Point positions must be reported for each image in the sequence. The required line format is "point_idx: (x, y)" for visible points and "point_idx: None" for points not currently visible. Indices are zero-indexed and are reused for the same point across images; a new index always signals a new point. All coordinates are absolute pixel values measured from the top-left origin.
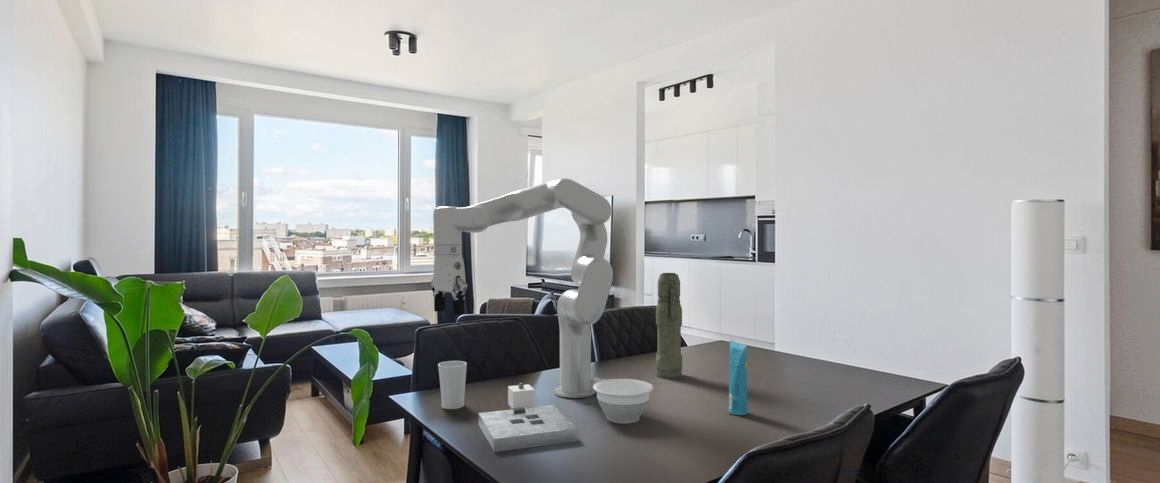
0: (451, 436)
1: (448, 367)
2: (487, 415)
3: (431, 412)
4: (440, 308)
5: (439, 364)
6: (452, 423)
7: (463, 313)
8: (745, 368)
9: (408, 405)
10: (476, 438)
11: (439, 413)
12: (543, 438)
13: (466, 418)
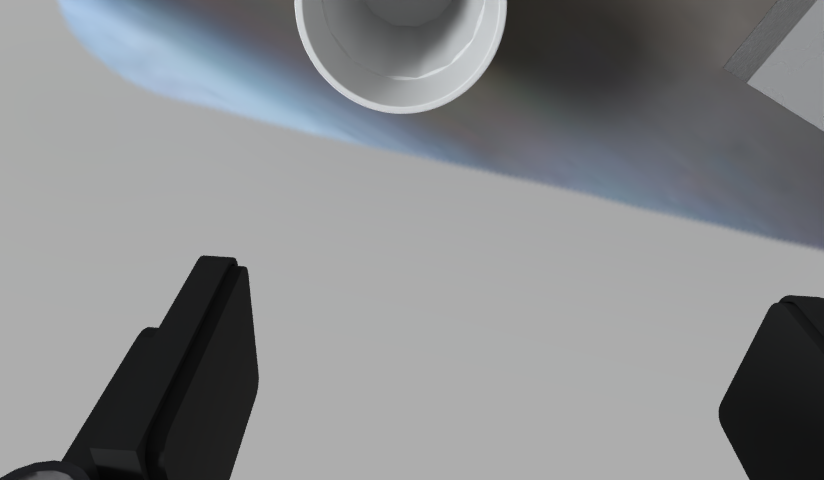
0: (710, 209)
1: (462, 92)
2: (808, 77)
3: None
4: (243, 353)
5: (338, 80)
6: (610, 127)
7: (814, 299)
8: None
9: (251, 110)
10: (811, 167)
11: None
12: None
13: (615, 48)
